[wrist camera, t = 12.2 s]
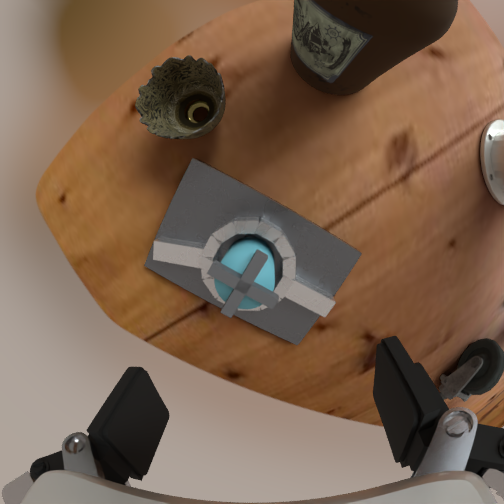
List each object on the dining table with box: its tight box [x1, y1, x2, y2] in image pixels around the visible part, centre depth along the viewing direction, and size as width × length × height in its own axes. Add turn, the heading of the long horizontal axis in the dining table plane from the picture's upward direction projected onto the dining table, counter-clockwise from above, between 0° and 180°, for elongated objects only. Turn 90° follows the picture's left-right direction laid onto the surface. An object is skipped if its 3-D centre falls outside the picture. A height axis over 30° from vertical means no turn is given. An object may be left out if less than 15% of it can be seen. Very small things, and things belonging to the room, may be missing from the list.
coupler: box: [207, 237, 279, 318], centre depth 25 cm, size 5×5×7 cm
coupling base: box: [144, 158, 362, 345], centre depth 28 cm, size 20×13×4 cm, turn 61°
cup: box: [135, 55, 225, 139], centre depth 22 cm, size 8×7×8 cm
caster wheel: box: [439, 338, 504, 402], centre depth 29 cm, size 6×10×15 cm
